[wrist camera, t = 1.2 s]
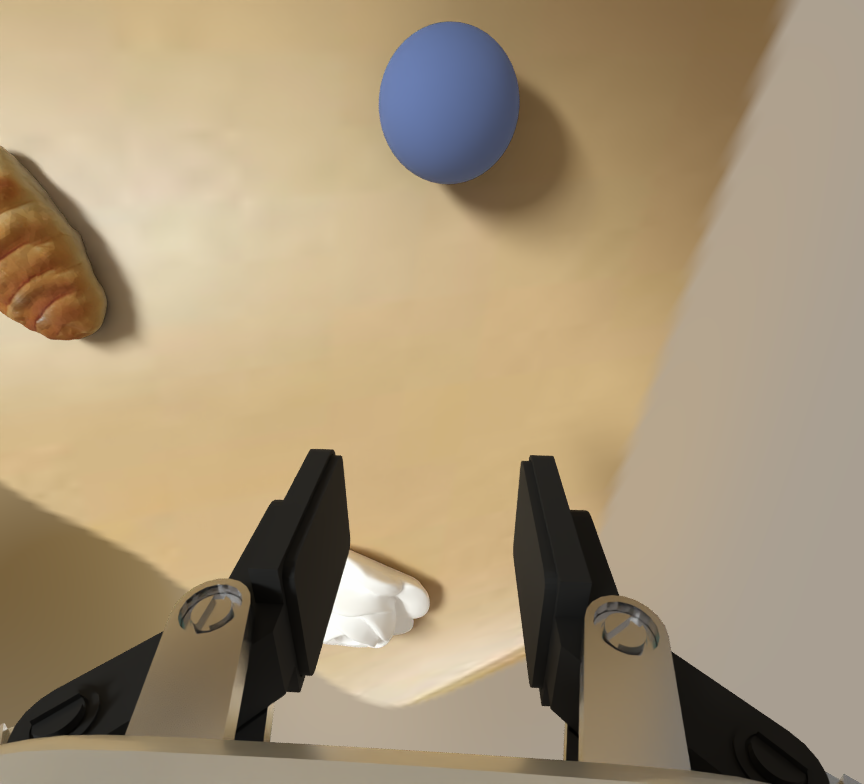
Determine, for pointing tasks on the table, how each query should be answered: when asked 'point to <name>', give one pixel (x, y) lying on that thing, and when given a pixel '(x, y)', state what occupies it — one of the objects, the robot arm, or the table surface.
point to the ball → (449, 102)
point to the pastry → (43, 261)
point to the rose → (374, 604)
